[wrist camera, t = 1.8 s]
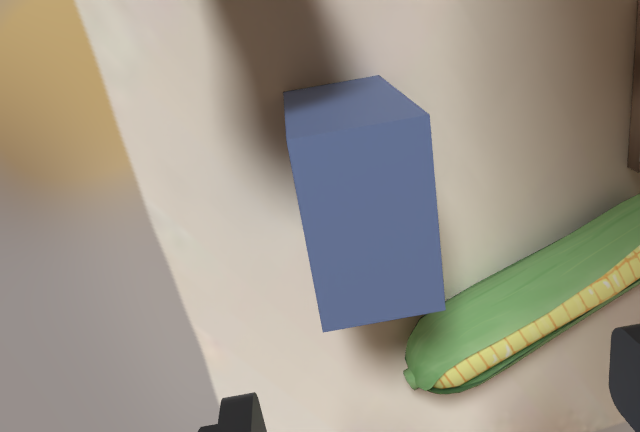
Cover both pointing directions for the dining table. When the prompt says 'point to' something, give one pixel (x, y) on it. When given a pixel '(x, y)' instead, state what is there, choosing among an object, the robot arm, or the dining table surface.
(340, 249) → the blue carton
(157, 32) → the dining table surface
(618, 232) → the edible corn
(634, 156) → the shelf channel
